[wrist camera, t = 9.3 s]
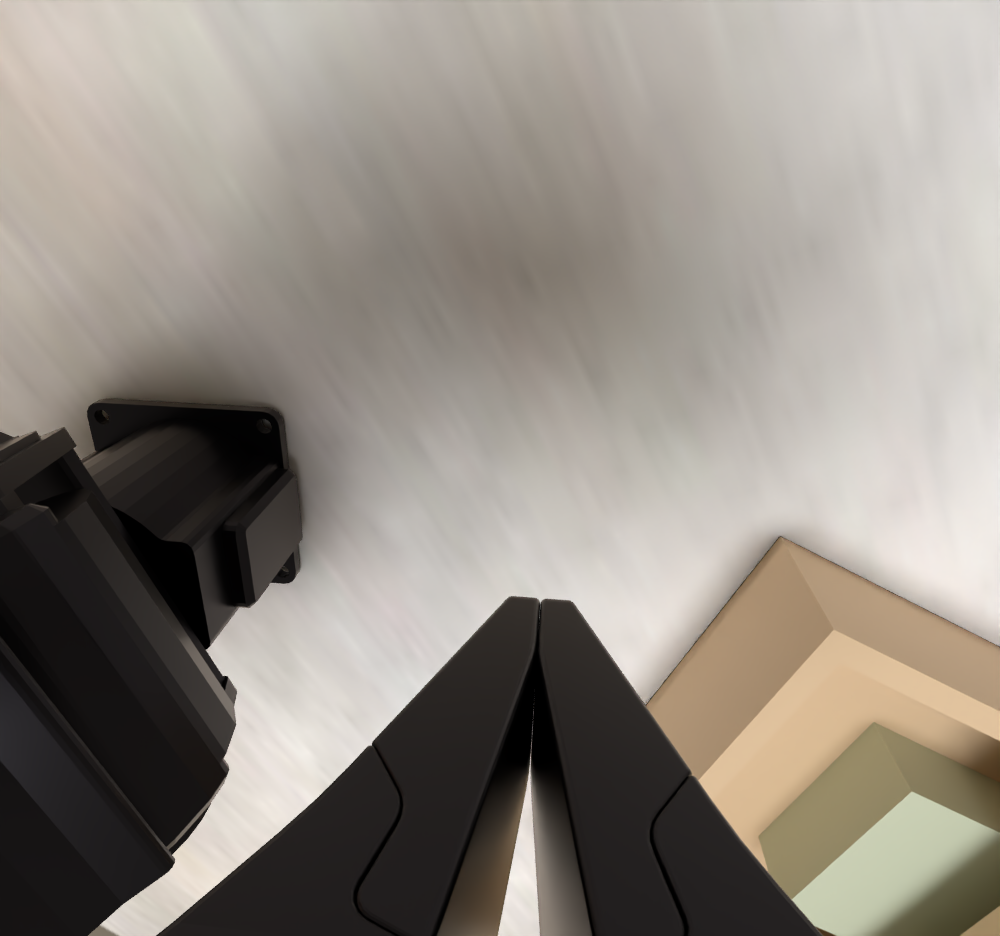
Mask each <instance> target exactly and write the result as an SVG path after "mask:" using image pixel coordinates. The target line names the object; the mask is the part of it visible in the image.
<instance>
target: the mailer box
mask: <svg viewBox="0 0 1000 936" xmlns="http://www.w3.org/2000/svg"><path fill="white" fill-rule="evenodd" d="M646 707H647V708H648V710H649V711H650V713H651V714H652V716H653V717H654V718H655V720H656V721H657V723H658V724H659V726H660V727H661V728H662V730H663V731H664V733H665V734H666V736H667V737H668V738H669V740H670V741H671V743H672V744H673V746H674V747H675V748H676V750H677V751H678V753H679V754H680V756H681V757H682V758H683V760H684V761H685V763H686V764H687V766H688V767H689V768H690V770H691V772H692V776H695V777H696V778H697V779H698V781H699V782H700V784H701V785H702V787H703V788H704V790H705V791H706V792H707V794H708V795H709V797H710V798H711V800H712V801H713V802H714V804H715V805H716V806H717V808H718V809H719V810H720V812H721V813H722V815H723V816H724V817H725V819H726V820H727V821H728V823H729V824H730V825H731V827H732V828H733V829H734V831H735V832H736V833H737V835H738V836H739V837H740V839H741V840H742V841H743V842H744V844H745V845H746V846H747V847H748V848H749V850H750V851H751V852H752V853H753V854H754V856H755V857H756V858H757V859H758V860H759V862H760V863H761V864H762V865H763V867H764V868H765V869H766V870H767V871H768V873H769V874H770V875H771V876H772V877H773V879H774V880H775V881H776V882H777V883H778V885H779V886H780V887H781V888H782V889H783V890H784V891H785V893H786V894H787V895H788V896H789V897H790V898H791V899H792V901H793V902H794V903H795V904H796V905H797V906H798V908H799V909H800V910H801V911H802V912H803V913H804V914H805V916H806V917H807V918H808V919H809V920H810V921H811V922H812V924H813V925H814V926H815V927H816V928H817V929H818V930H819V932H820V933H821V934H822V935H823V936H960V935H961V934H963V933H964V932H965V931H967V930H968V929H969V928H971V927H972V926H973V925H975V924H976V923H977V922H979V921H980V920H981V919H983V918H984V917H985V916H987V915H988V914H989V913H991V912H992V911H993V910H995V909H996V908H997V907H999V906H1000V647H998V646H996V645H995V644H993V643H991V642H989V641H987V640H985V639H983V638H981V637H979V636H977V635H975V634H973V633H971V632H969V631H967V630H965V629H963V628H961V627H959V626H957V625H955V624H953V623H951V622H949V621H947V620H945V619H943V618H941V617H939V616H937V615H935V614H933V613H931V612H929V611H927V610H925V609H923V608H921V607H919V606H917V605H915V604H913V603H911V602H909V601H907V600H905V599H903V598H902V597H900V596H898V595H896V594H894V593H892V592H890V591H888V590H886V589H884V588H882V587H880V586H878V585H876V584H874V583H872V582H870V581H868V580H866V579H864V578H862V577H860V576H858V575H856V574H854V573H852V572H850V571H848V570H846V569H844V568H842V567H840V566H838V565H836V564H834V563H832V562H830V561H828V560H826V559H824V558H822V557H820V556H818V555H816V554H814V553H812V552H810V551H809V550H807V549H805V548H803V547H801V546H799V545H797V544H795V543H793V542H791V541H789V540H787V539H785V538H783V537H781V536H780V537H779V538H778V540H777V541H776V542H775V543H774V545H773V546H772V547H771V548H770V550H769V551H768V552H767V553H766V555H765V556H764V557H763V558H762V560H761V561H760V562H759V564H758V565H757V566H756V567H755V569H754V570H753V571H752V572H751V574H750V575H749V576H748V577H747V579H746V580H745V581H744V582H743V584H742V585H741V586H740V587H739V589H738V590H737V591H736V593H735V594H734V595H733V596H732V598H731V599H730V600H729V601H728V603H727V604H726V605H725V606H724V608H723V609H722V610H721V611H720V613H719V614H718V615H717V616H716V618H715V619H714V620H713V622H712V623H711V624H710V625H709V627H708V628H707V629H706V630H705V632H704V633H703V634H702V635H701V637H700V638H699V639H698V640H697V642H696V643H695V644H694V645H693V647H692V648H691V649H690V651H689V652H688V653H687V654H686V656H685V657H684V658H683V659H682V661H681V662H680V663H679V664H678V666H677V667H676V668H675V669H674V671H673V672H672V673H671V675H670V676H669V677H668V678H667V680H666V681H665V682H664V683H663V685H662V686H661V687H660V688H659V690H658V691H657V692H656V693H655V695H654V696H653V697H652V698H651V700H650V701H649V702H648V704H647V705H646Z"/></svg>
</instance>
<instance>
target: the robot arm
mask: <svg viewBox="0 0 1000 936" xmlns="http://www.w3.org/2000/svg"><path fill="white" fill-rule="evenodd" d="M102 410H103V411H105V412H106V413H107V414H108V416H109V420H108V419H106V418H105V417H104V416H103V414H102ZM87 417H88V421H89V425H90V429H91V434H92V438H93V442H94V446H95V451H96V452H94V453H92V454H91V455H89V456H87V457H86V458H84V459H82V460H80V458H79V457H78V455H77V454H76V452H75V451H74V449H73V448H74V447H76V444H75V443H74V441H73V440H72V438H71V437H70V435H69V434H68V432H67V430H66V429H65V427H63V428H60V429H58V430H55V431H53V432H50V433H48V434H45V435H43V436H39V435H38V433H37V432H36V431H34V432H31V433H29V434H26V435H23V436H21V437H19V436H17V437H12V436H9V435H7V434H4V433H2V432H0V936H88V935H89V934H90V933H91V932H92V931H93V930H95V929H96V928H97V927H98V926H99V925H100V924H101V923H102V922H103V921H105V920H106V919H107V918H108V917H109V916H110V915H111V914H112V913H114V912H115V911H116V910H117V909H118V908H119V907H120V906H121V905H123V904H124V903H125V902H127V901H128V900H129V899H131V898H132V897H134V896H135V895H137V894H138V893H139V892H141V891H142V890H144V889H145V888H146V887H148V886H149V885H151V884H152V883H153V882H155V881H156V880H158V879H159V878H160V877H162V876H163V875H165V874H166V873H167V872H168V871H169V870H170V869H171V868H172V867H173V865H174V863H175V858H174V857H173V856H172V854H173V853H174V852H175V851H176V850H177V849H178V848H179V847H180V846H181V845H182V844H183V843H184V842H185V841H186V840H187V839H188V837H189V836H190V835H191V833H192V832H193V831H194V830H195V828H196V827H197V826H198V824H199V823H200V822H201V820H202V819H203V817H204V815H205V813H206V812H207V810H208V808H209V806H210V805H211V802H212V800H213V799H214V797H215V796H216V794H217V793H218V791H219V790H220V788H221V787H222V785H223V784H224V782H225V779H226V777H227V774H228V771H229V766H228V764H227V763H226V761H225V760H224V756H225V754H226V752H227V749H228V747H229V744H230V741H231V738H232V735H233V732H234V729H235V727H236V719H235V711H234V704H235V699H236V695H237V690H236V689H235V687H234V686H233V684H232V682H231V681H230V679H229V678H228V677H227V676H222V674H221V673H220V671H219V670H218V668H217V667H216V665H215V664H214V662H213V661H212V659H211V658H210V656H209V655H208V653H207V652H206V649H208V648H209V647H210V646H211V644H212V643H213V642H214V640H215V639H216V638H217V636H218V635H219V634H220V632H221V631H222V630H223V628H224V627H225V626H226V624H227V623H228V622H229V620H230V619H231V618H232V616H233V615H234V614H235V612H236V611H237V610H238V608H239V607H242V608H250V607H251V606H252V605H253V604H255V603H256V602H257V601H258V599H259V598H260V597H261V595H262V594H263V593H264V591H265V590H266V588H267V587H268V586H269V584H270V583H282V584H285V583H290V582H292V581H293V580H294V579H295V577H296V576H297V574H298V573H299V571H300V563H299V554H298V544H299V543H300V541H301V540H302V527H301V517H300V508H299V499H298V489H297V480H296V475H295V474H294V473H293V472H292V471H291V469H289V464H288V455H287V446H286V437H285V428H284V421H283V418H282V416H281V415H280V414H279V412H277V411H276V410H274V409H271V408H267V407H248V406H229V405H211V404H192V403H174V402H155V401H137V400H118V399H102V400H99V401H97V402H95V403H93V404H92V405H90V406H89V408H88V410H87ZM262 419H266V420H268V421H269V422H270V423H271V426H272V429H267V428H265V427H264V426H263V424H262V422H261V421H262ZM282 566H285V567H286V568H287V569H288V570H289V572H286V571H283V570H282V569H281V568H282ZM539 615H540V618H539ZM534 696H535V697H534ZM533 711H534V714H533ZM532 727H533V731H532ZM531 742H532V748H531ZM530 756H531V796H532V812H533V828H534V844H535V861H536V877H537V893H538V909H539V925H540V936H823V935H822V934H821V933H820V932H819V930H818V929H817V928H816V927H815V926H814V925H813V924H812V922H811V921H810V920H809V919H808V918H807V917H806V916H805V914H804V913H803V912H802V911H801V910H800V909H799V908H798V906H797V905H796V904H795V903H794V902H793V901H792V899H791V898H790V897H789V896H788V895H787V894H786V893H785V891H784V890H783V889H782V888H781V887H780V886H779V885H778V883H777V882H776V881H775V880H774V879H773V877H772V876H771V875H770V874H769V873H768V871H767V870H766V869H765V868H764V867H763V865H762V864H761V863H760V862H759V860H758V859H757V858H756V857H755V856H754V854H753V853H752V852H751V851H750V850H749V848H748V847H747V846H746V845H745V844H744V842H743V841H742V840H741V839H740V837H739V836H738V835H737V833H736V832H735V831H734V829H733V828H732V827H731V825H730V824H729V823H728V821H727V820H726V819H725V817H724V816H723V815H722V813H721V812H720V810H719V809H718V808H717V806H716V805H715V804H714V802H713V801H712V800H711V798H710V797H709V795H708V794H707V792H706V791H705V790H704V788H703V787H702V785H701V784H700V782H699V781H698V779H697V778H696V777H695V776H692V772H691V770H690V768H689V767H688V766H687V764H686V763H685V761H684V760H683V758H682V757H681V756H680V754H679V753H678V751H677V750H676V748H675V747H674V746H673V744H672V743H671V741H670V740H669V738H668V737H667V736H666V734H665V733H664V731H663V730H662V728H661V727H660V726H659V724H658V723H657V721H656V720H655V718H654V717H653V716H652V714H651V713H650V711H649V710H648V708H647V707H646V706H645V704H644V703H643V701H642V700H641V698H640V697H639V696H638V694H637V693H636V691H635V690H634V688H633V687H632V686H631V684H630V683H629V681H628V680H627V678H626V677H625V676H624V674H623V673H622V671H621V670H620V668H619V667H618V666H617V664H616V663H615V661H614V660H613V658H612V657H611V656H610V654H609V653H608V651H607V650H606V648H605V647H604V646H603V644H602V643H601V641H600V640H599V638H598V637H597V636H596V634H595V633H594V631H593V630H592V629H591V627H590V626H589V624H588V623H587V621H586V620H585V619H584V617H583V616H582V614H581V613H580V611H579V610H578V609H577V607H576V606H575V604H574V603H573V602H571V601H569V600H556V599H544V600H542V602H541V604H540V602H539V600H538V599H537V598H529V597H516V596H511V597H509V598H507V599H506V600H505V601H504V602H503V603H502V605H501V606H500V607H499V608H498V609H497V610H496V611H495V612H494V613H493V614H492V615H491V616H490V617H489V618H488V619H487V621H486V622H485V623H484V624H483V625H482V626H481V627H480V628H479V629H478V630H477V631H476V632H475V633H474V634H473V635H472V636H471V638H470V639H469V640H468V641H467V642H466V643H465V644H464V645H463V646H462V647H461V648H460V649H459V650H458V651H457V652H456V654H455V655H454V656H453V657H452V658H451V659H450V660H449V661H448V662H447V663H446V664H445V665H444V666H443V667H442V668H441V669H440V671H439V672H438V673H437V674H436V675H435V676H434V677H433V678H432V679H431V680H430V681H429V682H428V683H427V684H426V685H425V687H424V688H423V689H422V690H421V691H420V692H419V693H418V694H417V695H416V696H415V697H414V698H413V699H412V700H411V701H410V703H409V704H408V705H407V706H406V707H405V708H404V709H403V710H402V711H401V712H400V713H399V714H398V715H397V716H396V717H395V718H394V720H393V721H392V722H391V723H390V724H389V725H388V726H387V727H386V728H385V729H384V730H383V731H382V732H381V733H380V734H379V736H378V737H377V738H376V739H375V740H374V741H373V742H372V746H368V747H367V748H366V749H365V750H364V751H363V752H362V753H361V754H360V755H359V756H358V757H357V759H356V760H355V761H354V762H353V763H352V764H351V765H350V766H349V767H348V768H347V769H346V770H345V771H344V772H343V773H342V774H341V775H340V776H339V777H338V778H337V779H336V780H335V781H334V782H333V783H332V784H331V785H330V786H329V787H328V788H327V789H326V790H325V791H324V792H323V793H322V794H321V795H320V796H319V797H318V798H317V799H316V800H315V801H314V802H312V803H311V804H310V805H309V806H308V807H307V808H306V809H305V810H303V811H302V812H301V813H300V814H299V815H298V816H297V817H296V818H295V819H293V820H292V821H291V822H290V823H289V824H288V825H287V826H286V827H284V828H283V829H282V830H281V831H280V832H279V833H278V834H277V835H275V836H274V837H273V838H272V839H271V840H269V841H268V842H267V843H266V844H265V845H264V846H262V847H261V848H260V849H259V850H258V851H256V852H255V853H254V854H253V855H252V856H251V857H249V858H248V859H247V860H246V861H245V862H244V863H242V864H241V865H240V866H239V867H238V868H236V869H235V870H234V871H233V872H232V873H231V874H229V875H228V876H227V877H226V878H225V879H223V880H222V881H221V882H220V883H219V884H218V885H216V886H215V887H214V888H213V889H212V890H211V891H209V892H208V893H207V894H206V895H205V896H203V897H202V898H201V899H200V900H199V901H198V902H196V903H195V904H194V905H193V906H192V907H190V908H189V909H188V910H187V911H186V912H185V913H183V914H182V915H181V916H180V917H179V918H178V919H176V920H175V921H174V922H173V923H171V924H170V925H169V926H168V927H166V928H165V929H164V930H163V931H161V932H160V933H159V934H158V935H156V936H498V931H499V926H500V920H501V915H502V910H503V905H504V900H505V895H506V890H507V885H508V879H509V874H510V869H511V864H512V859H513V854H514V849H515V844H516V838H517V833H518V828H519V823H520V818H521V813H522V808H523V803H524V797H525V792H526V787H527V781H528V774H529V766H530Z"/></svg>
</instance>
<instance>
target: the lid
mask: <svg viewBox="0 0 1000 936" xmlns="http://www.w3.org/2000/svg"><path fill="white" fill-rule="evenodd" d="M960 936H1000V906H999V907H997V908H996V909H995V910H993V911H992V912H991V913H989V914H988V915H987V916H985V917H984V918H983V919H981V920H980V921H979V922H977V923H976V924H975V925H973V926H972V927H971V928H969V929H968V930H967V931H965V932H964V933H963V934H961V935H960Z"/></svg>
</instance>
